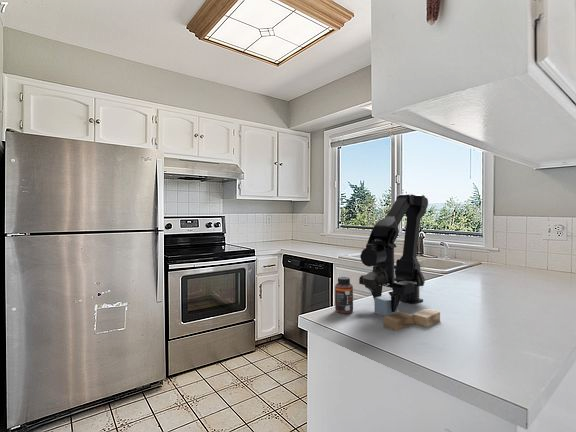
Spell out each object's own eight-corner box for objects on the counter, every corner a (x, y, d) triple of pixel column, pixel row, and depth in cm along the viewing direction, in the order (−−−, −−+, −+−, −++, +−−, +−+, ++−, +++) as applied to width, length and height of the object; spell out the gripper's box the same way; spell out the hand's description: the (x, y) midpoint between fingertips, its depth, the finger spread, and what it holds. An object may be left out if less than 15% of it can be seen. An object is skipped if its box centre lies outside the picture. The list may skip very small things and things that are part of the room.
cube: (384, 309, 112) (384, 295, 112) (396, 313, 108) (396, 298, 108) (374, 312, 110) (374, 297, 110) (386, 316, 105) (386, 300, 105)
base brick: (401, 321, 101) (401, 311, 101) (413, 325, 98) (413, 315, 97) (383, 326, 97) (383, 316, 97) (395, 331, 93) (395, 320, 93)
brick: (426, 318, 104) (426, 308, 104) (440, 321, 100) (440, 311, 100) (412, 324, 99) (412, 314, 99) (426, 328, 95) (426, 317, 95)
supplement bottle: (353, 314, 108) (352, 280, 107) (334, 313, 109) (334, 279, 108) (353, 309, 113) (352, 276, 113) (335, 308, 115) (335, 275, 114)
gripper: (347, 261, 112) (347, 307, 112) (391, 269, 96) (391, 322, 97) (370, 258, 118) (370, 301, 118) (415, 265, 102) (416, 315, 103)
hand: (385, 309), depth 109 cm, fingers open, 6 cm apart
